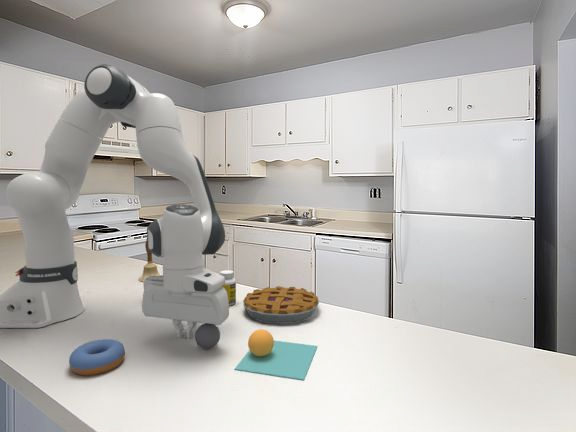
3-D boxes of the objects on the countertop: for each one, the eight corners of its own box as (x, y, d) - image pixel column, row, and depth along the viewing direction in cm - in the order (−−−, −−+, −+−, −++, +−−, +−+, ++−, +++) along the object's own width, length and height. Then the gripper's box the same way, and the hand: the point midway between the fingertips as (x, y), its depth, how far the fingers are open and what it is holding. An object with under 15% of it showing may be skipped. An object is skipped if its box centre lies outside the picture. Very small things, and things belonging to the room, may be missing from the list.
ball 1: (201, 329, 75) (208, 354, 75) (221, 319, 79) (227, 342, 79) (187, 328, 78) (193, 352, 79) (207, 318, 83) (213, 341, 83)
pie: (248, 298, 113) (248, 282, 113) (317, 299, 113) (317, 284, 112) (236, 326, 92) (236, 307, 91) (321, 327, 91) (321, 308, 90)
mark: (234, 369, 70) (234, 368, 70) (258, 339, 83) (258, 338, 83) (303, 380, 66) (303, 379, 66) (317, 346, 80) (317, 345, 80)
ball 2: (252, 336, 72) (267, 360, 72) (269, 321, 76) (283, 344, 76) (238, 341, 75) (252, 364, 75) (255, 327, 80) (268, 348, 79)
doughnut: (58, 366, 70) (59, 344, 70) (108, 349, 79) (109, 330, 78) (84, 387, 65) (85, 364, 64) (134, 367, 73) (135, 346, 73)
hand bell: (157, 282, 129) (156, 239, 127) (134, 282, 129) (133, 239, 128) (165, 276, 137) (164, 235, 136) (144, 276, 137) (142, 235, 136)
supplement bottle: (232, 307, 104) (232, 274, 104) (215, 305, 106) (214, 273, 105) (238, 301, 110) (238, 270, 109) (222, 299, 111) (221, 269, 110)
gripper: (134, 278, 78) (136, 338, 80) (219, 285, 73) (220, 349, 75) (152, 271, 85) (154, 327, 86) (231, 277, 79) (232, 337, 81)
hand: (185, 337), depth 80 cm, fingers closed
